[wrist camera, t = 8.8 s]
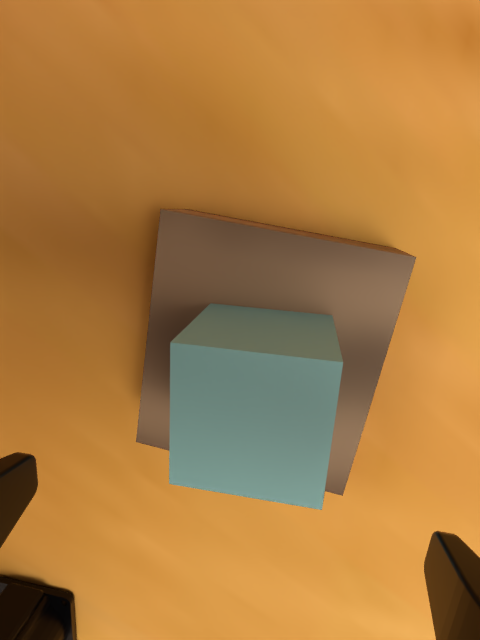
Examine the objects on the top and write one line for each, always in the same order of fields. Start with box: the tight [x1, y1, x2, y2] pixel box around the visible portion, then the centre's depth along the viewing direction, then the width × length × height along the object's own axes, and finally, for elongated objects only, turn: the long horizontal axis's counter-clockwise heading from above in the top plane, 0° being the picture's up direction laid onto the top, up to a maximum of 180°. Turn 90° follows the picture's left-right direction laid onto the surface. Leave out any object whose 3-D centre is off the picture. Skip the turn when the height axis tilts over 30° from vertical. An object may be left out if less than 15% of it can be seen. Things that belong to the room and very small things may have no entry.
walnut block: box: [136, 209, 416, 496], centre depth 18 cm, size 11×10×4 cm
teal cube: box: [169, 303, 343, 510], centre depth 14 cm, size 5×5×5 cm
